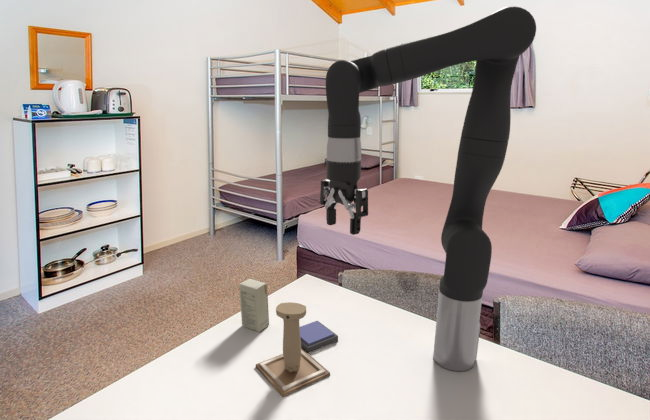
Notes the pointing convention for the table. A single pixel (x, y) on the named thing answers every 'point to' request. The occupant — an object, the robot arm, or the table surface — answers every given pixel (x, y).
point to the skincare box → (254, 304)
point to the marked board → (295, 380)
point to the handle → (291, 333)
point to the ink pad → (316, 336)
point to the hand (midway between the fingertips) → (342, 229)
